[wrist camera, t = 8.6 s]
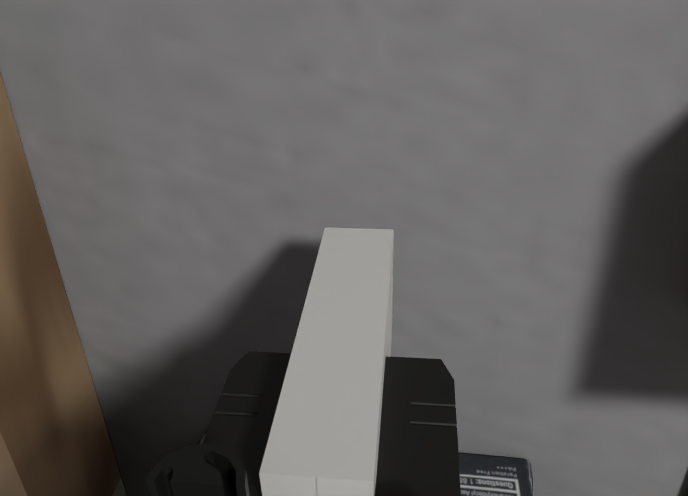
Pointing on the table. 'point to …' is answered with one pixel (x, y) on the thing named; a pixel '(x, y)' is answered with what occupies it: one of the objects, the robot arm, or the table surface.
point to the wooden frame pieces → (42, 354)
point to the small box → (491, 475)
